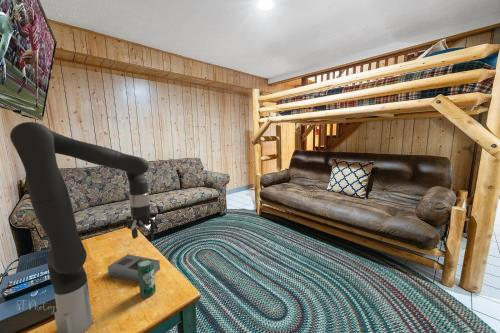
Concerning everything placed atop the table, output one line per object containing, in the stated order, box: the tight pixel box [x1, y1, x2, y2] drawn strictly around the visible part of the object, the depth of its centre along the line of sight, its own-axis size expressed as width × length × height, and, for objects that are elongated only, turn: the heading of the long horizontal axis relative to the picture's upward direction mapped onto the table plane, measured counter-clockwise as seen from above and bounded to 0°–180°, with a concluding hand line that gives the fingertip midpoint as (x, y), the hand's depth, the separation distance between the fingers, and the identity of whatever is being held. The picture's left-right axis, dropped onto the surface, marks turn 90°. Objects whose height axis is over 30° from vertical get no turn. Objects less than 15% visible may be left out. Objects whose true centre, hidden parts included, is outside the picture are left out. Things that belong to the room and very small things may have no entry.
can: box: [137, 257, 157, 299], centre depth 95 cm, size 6×6×15 cm
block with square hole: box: [107, 253, 161, 284], centre depth 110 cm, size 12×22×5 cm, turn 72°
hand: (143, 239), depth 92 cm, fingers open, 8 cm apart
